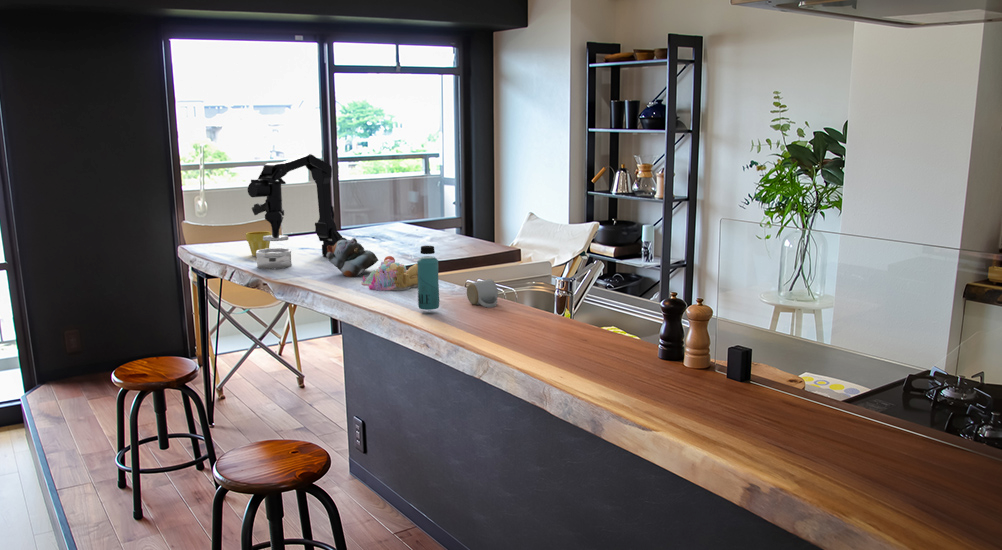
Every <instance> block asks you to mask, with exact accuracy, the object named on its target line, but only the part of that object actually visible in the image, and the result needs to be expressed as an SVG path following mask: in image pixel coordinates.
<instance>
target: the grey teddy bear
mask: <svg viewBox="0 0 1002 550" xmlns="http://www.w3.org/2000/svg"><path fill="white" fill-rule="evenodd" d="M326 256H327V257H326V258H327V260H328V261H329V262H330V264H332V265H333V266H334V267H335V268H336V269H338V270H339V271H340V272H341V273H342V274H343V276H345V277H346V278H357V276H359V275H361V274H362V273H364V272H365V271H366V270H368V269H369V268H371V267H373V266H374V265H375V264H376V263H377V262H379V259H378V257H377V255H376V254H375V253H374V252H373V251H371V250H368V249H367V250H365V248H364V246H362V244H361V243H360V242H358V241H357V239H356V238H355V237H354V238H351V239H347V238H346V237H343V236H342V238H340V241H338V242H337V243H335V245H334V246H330V245H329V246H327V255H326Z"/></svg>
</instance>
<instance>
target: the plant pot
mask: <svg viewBox="0 0 1002 550" xmlns="http://www.w3.org/2000/svg"><path fill="white" fill-rule="evenodd" d="M268 235H272V231H268V230H267V231H263V230H262V231H250V232H246V233H245V238H246V239H245V240H246V242H248V246H249V248H250V252H251V255H252V256H253V257H257V256H256V251H257V250H262V249H268V248H270V244H271V241H264V240H263V236H268Z"/></svg>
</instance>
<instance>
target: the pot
mask: <svg viewBox="0 0 1002 550" xmlns="http://www.w3.org/2000/svg"><path fill="white" fill-rule="evenodd" d="M255 257H256V263H257V264H256V267H257V268H258V269H262V270H281V269H285V268H290V267H292V266H293V265H292V249H291V248H284V247H279V248H278V247H276V248H275V247H273V248H270V247H269V248H268V249H262V250H257V251H256V256H255Z"/></svg>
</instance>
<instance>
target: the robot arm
mask: <svg viewBox="0 0 1002 550" xmlns="http://www.w3.org/2000/svg"><path fill="white" fill-rule="evenodd" d="M302 167H305V168H306V169H307V170H308V171H310V173H311V177H312V179H313V181H314V183H315V184H316V194H317V204H318V215H319V217H318V220H317V221H316V222H315V223H314V226H315V229H314V230H315V231H314V232H315V233H316V236H317V237H318V240H319V241H320V242H322V244H321V253H322V254H321V255H322V256H323V257H325V258H327V256H326V255H327V246H329V245H330V246H334V245H335V243H337V242H338V241H340V238H342V237H343V236H342V235H341V234H340V232H339V231H338V229H337V225H336V223H335V220H334V219H333V217H332V209H331V196H330V186H329V185H330V184H329V183H330V182H331V179H332V175H333V174H332V173H333V168H332V165H331V164H330V163H328V162H325V160H322V159H320V158H318V157H316V156H315V155H313V154H312V153H303V154H302V155H299V156H296V157H293V158H290V159H287V160H285V161H282V162H270V163H265V164H263V167H262V171H261V172H260V174H259V176H258V178H257V179H254V178H253V179H250V183H249V185H248V187H247V193H248V195H249V196H250V197H251V198H265V197H266V199H265V200H264V201H265V202H263V203H259V202H258V203H254V204H253V206H252V207H251V211H252V213H253V215H254V216H257V215H259V214H261V213H265V214H264V220H265V221H266V222H268V223H269V224H270V227H271V232H272V231H273V234H274V236H277V234H278V231H279V232H280V229H281V226H282V223H283V220H284V217H283V216H285V210H284V209H283V197H282V193H283V192H282V185H286V184H287V182H286V181H284V180H283V179H282V178H284V177H285V176H286V175H287V174H288V173H289V172H291V171H295V170H296V169H297V170H298V169H299V168H302Z"/></svg>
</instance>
